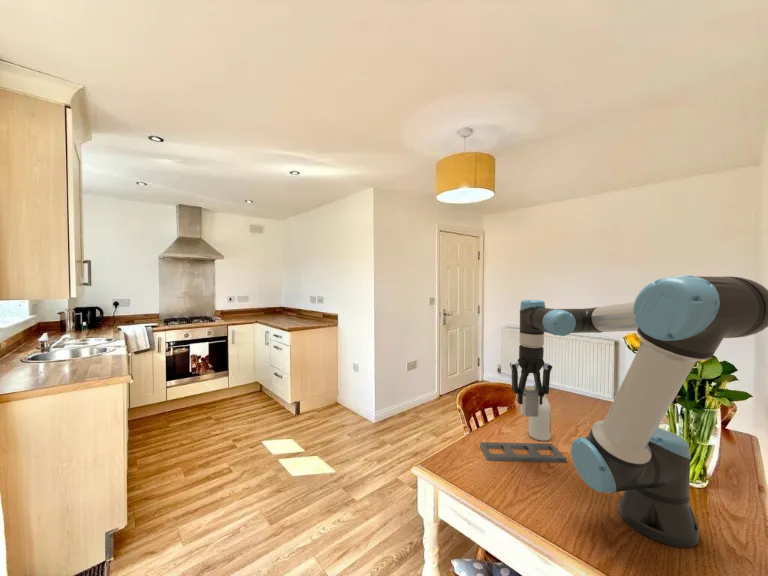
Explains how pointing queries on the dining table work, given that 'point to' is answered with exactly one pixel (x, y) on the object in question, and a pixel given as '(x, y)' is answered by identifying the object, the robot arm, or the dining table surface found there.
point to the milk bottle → (541, 422)
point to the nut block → (531, 401)
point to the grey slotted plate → (520, 457)
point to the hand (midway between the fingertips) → (529, 413)
